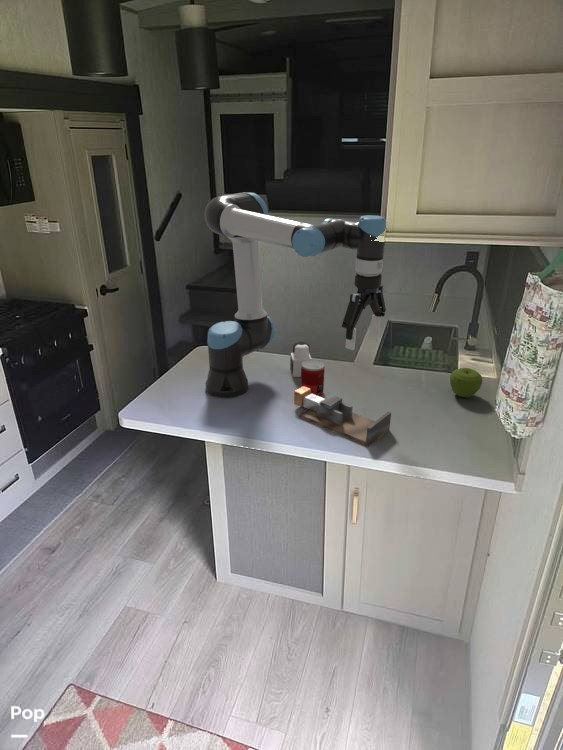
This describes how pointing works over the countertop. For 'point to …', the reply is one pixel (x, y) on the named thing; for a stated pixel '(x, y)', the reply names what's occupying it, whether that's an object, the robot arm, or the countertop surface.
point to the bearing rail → (347, 421)
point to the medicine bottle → (299, 357)
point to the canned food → (313, 376)
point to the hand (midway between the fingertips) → (362, 342)
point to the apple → (465, 382)
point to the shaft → (308, 399)
